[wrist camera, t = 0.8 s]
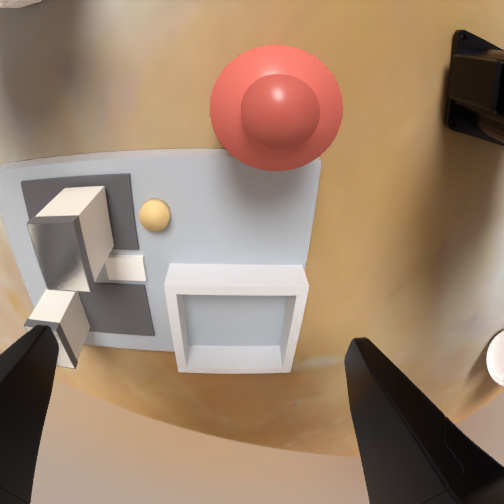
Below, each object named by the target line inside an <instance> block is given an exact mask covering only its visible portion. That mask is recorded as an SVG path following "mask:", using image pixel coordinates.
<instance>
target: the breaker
mask: <svg viewBox="0 0 504 504" xmlns="http://www.w3.org/2000/svg"><path fill="white" fill-rule="evenodd" d="M26 224H27V227H28V231H29V234H30V238H31V241H32V245H33V248H34V251H35V254H36V258H37V261H38V264H39V267H40V270H41V273H42V275H43V278H44V281H45V284H46V287H47V289H48V290H59V291H73V292H89V293H91V292H92V290H93V288H94V286H95V281H96V279H97V277H98V275H99V273H100V271H101V269H102V267H103V265H104V263H105V261H106V259H107V258H108V256H109V254H110V252H111V250H112V248H113V247H114V242H113V237H112V231H111V225H110V219H109V213H108V207H107V200H106V193H105V186H92V187H73V188H64V189H63V190H62V191H61V192H60V193H59V194H58V195H57V196H56V197H55V198H54V199H53V200H52V201H50V202H49V203H48V204H47V205H46V206H45V207H44V208H43V209H42V210H41V211H40V212H39V213H38V214H37V215H36V216H35V217H32V218H31V219H30V220H29V221H28V222H27V223H26Z"/></svg>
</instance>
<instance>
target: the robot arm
mask: <svg viewBox="0 0 504 504" xmlns="http://www.w3.org/2000/svg"><path fill="white" fill-rule="evenodd" d="M461 35H463V38H464V39H463V40H462V38H461ZM452 119H453V124H452V125H451V120H452ZM444 124H445V126H446V127H447V128H449V129H451V130H453V131H457V132H461V133H464V134H467V135H471V136H474V137H477V138H481V139H484V140H487V141H490V142H493V143H496V144H499V145H502V146H504V50H502V49H500V48H498V47H497V46H495V45H493V44H491V43H489V42H487V41H485V40H484V39H482V38H480V37H478V36H476V35H474V34H472V33H469V32H467V31H465V30H456V31H455V34H454V45H453V57H452V64H451V73H450V81H449V89H448V99H447V105H446V111H445V117H444ZM58 354H59V344H58V341H57V339H56V337H55V335H54V333H53V331H52V329H51V327H50V326H48V325H43V324H37V325H36V326H34V327H33V328H32V329H31V330H29V331H28V332H27V333H26V334H24V335H23V336H22V337H21V338H20V339H18V340H17V341H16V342H15V343H13V344H12V345H11V346H10V347H9V348H7V349H6V350H5V351H4V352H3V353H2V354H0V504H30V502H31V494H32V486H33V479H34V472H35V466H36V461H37V455H38V450H39V445H40V440H41V435H42V430H43V426H44V421H45V417H46V413H47V409H48V404H49V401H50V396H51V392H52V386H53V381H54V375H55V369H56V364H57V359H58ZM345 371H346V379H347V387H348V396H349V404H350V411H351V416H352V420H353V424H354V429H355V433H356V438H357V442H358V447H359V451H360V456H361V461H362V466H363V471H364V476H365V481H366V486H367V490H368V496H369V502H370V504H504V467H503V466H502V465H501V464H499V463H498V462H497V461H496V460H494V459H493V458H492V457H491V456H489V455H488V454H487V453H486V452H485V451H483V450H482V449H481V448H480V447H479V446H477V445H476V444H475V443H474V442H473V441H472V440H470V439H469V438H468V437H467V436H466V435H465V434H464V433H463V432H462V431H460V429H458V427H456V426H455V425H454V424H453V423H452V422H451V421H450V420H449V418H448V417H445V415H444V414H443V413H442V412H441V411H440V410H439V409H438V407H437V406H436V405H435V404H434V403H433V402H432V401H431V400H430V399H429V398H428V397H427V396H426V395H425V394H424V393H423V392H422V391H421V390H420V389H419V388H418V387H417V386H416V385H415V384H414V383H413V382H412V381H411V380H410V379H409V378H408V377H407V376H406V375H405V374H404V373H403V372H402V371H401V370H400V369H398V368H397V367H396V366H395V365H394V364H393V363H392V362H391V361H390V360H389V359H388V358H387V357H386V356H385V355H384V354H383V353H382V352H381V351H380V350H379V349H378V348H377V347H376V346H375V345H374V344H373V343H372V342H371V341H370V340H369V339H368V338H366V337H361V338H354V339H352V341H351V343H350V346H349V348H348V350H347V353H346V355H345Z"/></svg>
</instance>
